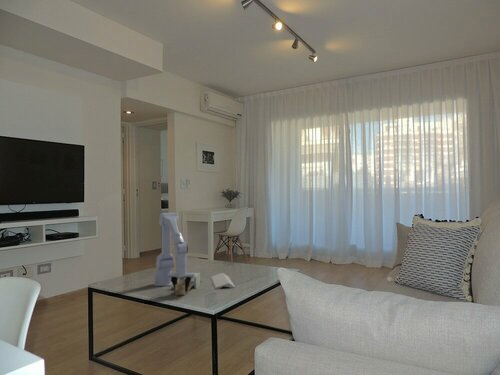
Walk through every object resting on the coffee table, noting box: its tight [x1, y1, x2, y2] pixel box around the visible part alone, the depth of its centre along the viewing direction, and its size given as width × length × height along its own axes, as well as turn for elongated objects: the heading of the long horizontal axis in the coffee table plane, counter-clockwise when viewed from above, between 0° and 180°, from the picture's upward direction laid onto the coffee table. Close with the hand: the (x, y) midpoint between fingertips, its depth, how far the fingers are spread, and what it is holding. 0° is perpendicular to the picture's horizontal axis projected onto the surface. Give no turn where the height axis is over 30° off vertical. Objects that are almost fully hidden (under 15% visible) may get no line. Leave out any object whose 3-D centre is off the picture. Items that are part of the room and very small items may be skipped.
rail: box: [175, 283, 194, 298], centre depth 199 cm, size 3×30×1 cm, turn 175°
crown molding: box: [210, 272, 236, 290], centre depth 215 cm, size 29×12×4 cm, turn 12°
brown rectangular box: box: [174, 280, 192, 296], centre depth 193 cm, size 5×12×5 cm, turn 175°
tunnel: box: [178, 272, 201, 289], centre depth 207 cm, size 10×10×7 cm
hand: (181, 291), depth 190 cm, fingers closed on brown rectangular box, 5 cm apart
